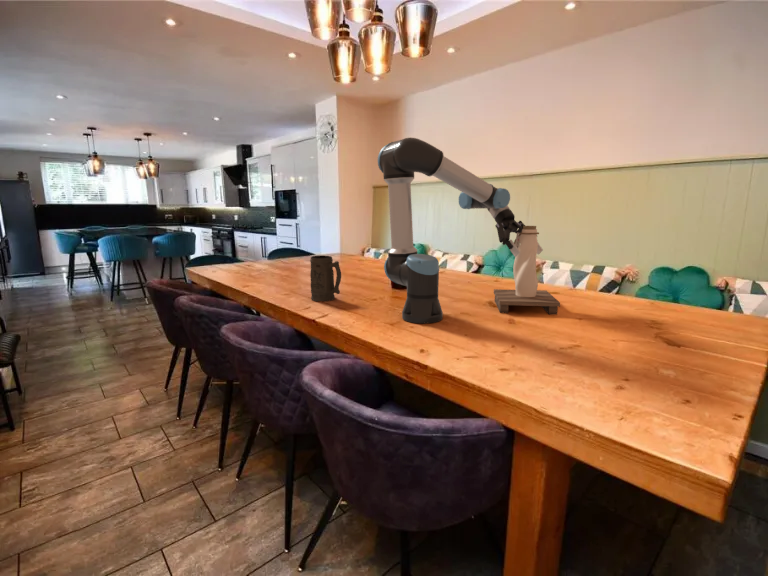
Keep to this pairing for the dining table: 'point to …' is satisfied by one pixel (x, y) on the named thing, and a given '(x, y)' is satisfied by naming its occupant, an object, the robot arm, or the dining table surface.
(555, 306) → the wooden riser
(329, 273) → the beer stein
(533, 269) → the water bottle
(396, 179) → the robot arm
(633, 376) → the dining table surface
